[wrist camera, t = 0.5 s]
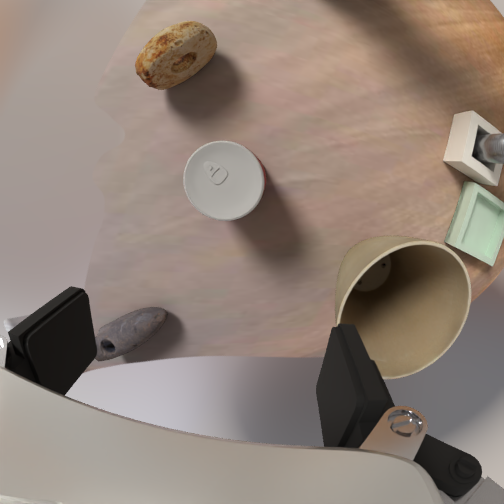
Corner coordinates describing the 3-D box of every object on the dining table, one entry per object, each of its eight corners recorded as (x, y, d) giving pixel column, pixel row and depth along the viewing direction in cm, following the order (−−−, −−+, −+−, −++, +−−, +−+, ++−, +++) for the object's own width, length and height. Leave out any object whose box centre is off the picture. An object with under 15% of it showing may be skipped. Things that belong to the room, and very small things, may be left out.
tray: (464, 181, 35) (475, 182, 32) (501, 206, 35) (512, 209, 33) (444, 241, 38) (454, 246, 35) (482, 261, 38) (492, 266, 35)
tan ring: (166, 100, 35) (135, 83, 26) (152, 83, 35) (119, 63, 25) (227, 54, 33) (213, 23, 24) (211, 38, 32) (194, 5, 23)
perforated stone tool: (163, 291, 43) (146, 312, 36) (181, 320, 44) (167, 344, 38) (99, 323, 46) (79, 343, 39) (116, 347, 47) (98, 369, 40)
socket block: (454, 114, 33) (472, 110, 28) (488, 138, 33) (507, 138, 28) (442, 160, 35) (461, 161, 30) (478, 183, 35) (497, 186, 30)
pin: (460, 131, 33) (516, 125, 21) (478, 143, 33) (534, 142, 21) (455, 154, 34) (511, 155, 22) (473, 166, 34) (529, 172, 22)
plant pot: (397, 198, 37) (462, 218, 22) (418, 290, 40) (472, 343, 25) (299, 236, 39) (315, 279, 24) (331, 326, 43) (355, 398, 27)
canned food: (222, 138, 37) (203, 127, 26) (277, 165, 37) (279, 164, 27) (196, 190, 39) (169, 198, 28) (250, 217, 39) (241, 235, 29)
